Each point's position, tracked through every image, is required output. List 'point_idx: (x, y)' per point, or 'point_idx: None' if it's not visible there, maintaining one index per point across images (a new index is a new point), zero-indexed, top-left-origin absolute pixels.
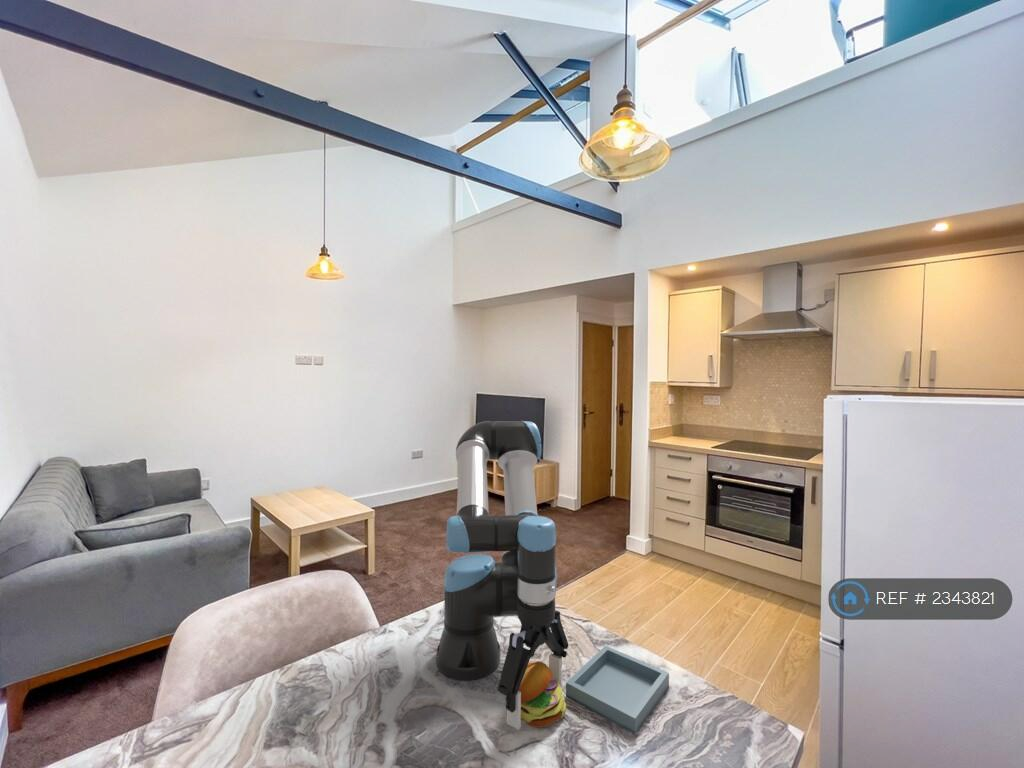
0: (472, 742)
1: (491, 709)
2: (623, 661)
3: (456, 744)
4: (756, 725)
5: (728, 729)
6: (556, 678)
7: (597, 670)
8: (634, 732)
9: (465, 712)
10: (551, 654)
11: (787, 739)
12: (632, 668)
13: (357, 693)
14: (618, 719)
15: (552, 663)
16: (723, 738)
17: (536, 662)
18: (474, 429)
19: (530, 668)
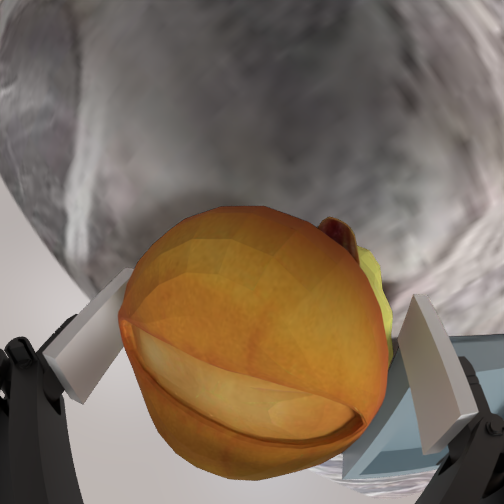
0: (54, 203)
1: (161, 142)
2: None
3: (30, 176)
4: (422, 485)
5: (407, 482)
6: (412, 361)
7: None
8: (343, 454)
9: (93, 86)
10: (462, 421)
11: (408, 495)
12: None
13: None
14: (352, 448)
15: (437, 395)
16: (389, 484)
17: (353, 406)
18: None
19: (249, 411)
